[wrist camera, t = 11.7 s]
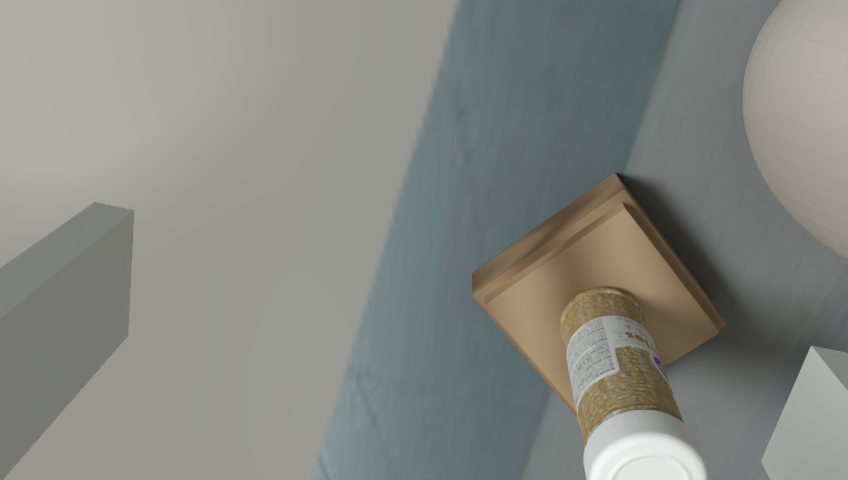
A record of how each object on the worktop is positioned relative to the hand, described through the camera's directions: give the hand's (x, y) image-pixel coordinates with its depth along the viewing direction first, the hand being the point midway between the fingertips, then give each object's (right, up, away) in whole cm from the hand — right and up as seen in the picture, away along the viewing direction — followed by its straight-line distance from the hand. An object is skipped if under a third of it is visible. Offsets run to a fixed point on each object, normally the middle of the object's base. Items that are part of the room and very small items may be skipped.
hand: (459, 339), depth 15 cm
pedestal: (+9, -1, +31) cm, 32 cm away
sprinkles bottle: (+9, -2, +27) cm, 29 cm away
